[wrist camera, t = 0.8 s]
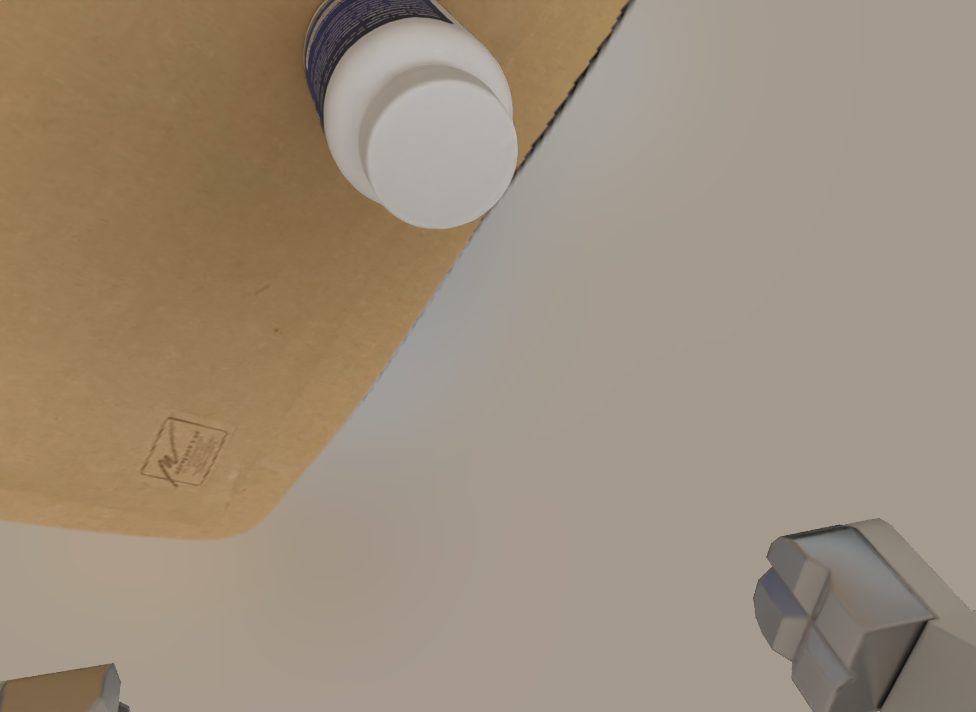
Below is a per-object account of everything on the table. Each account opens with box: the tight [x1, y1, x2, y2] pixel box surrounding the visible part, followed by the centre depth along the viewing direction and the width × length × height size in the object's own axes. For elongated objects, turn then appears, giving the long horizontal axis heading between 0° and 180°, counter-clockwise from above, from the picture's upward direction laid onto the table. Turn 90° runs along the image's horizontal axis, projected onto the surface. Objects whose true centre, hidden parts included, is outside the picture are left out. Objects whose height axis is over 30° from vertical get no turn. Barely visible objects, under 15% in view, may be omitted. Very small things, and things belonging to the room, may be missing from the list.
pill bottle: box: [303, 0, 518, 229], centre depth 24 cm, size 5×5×10 cm
